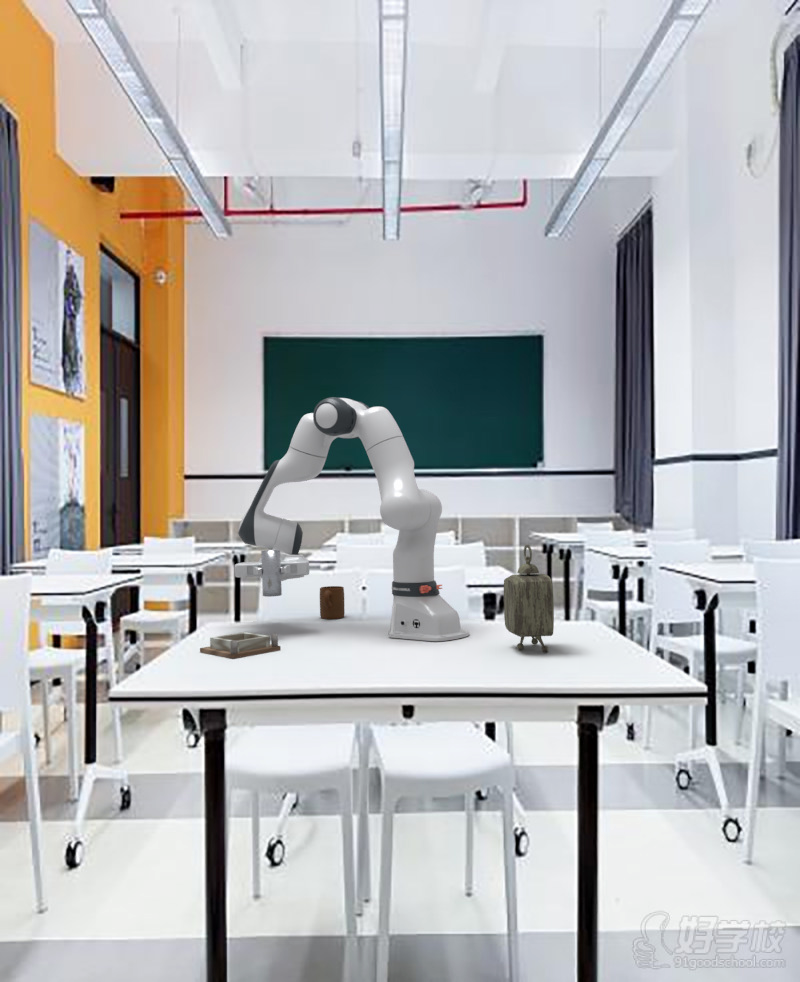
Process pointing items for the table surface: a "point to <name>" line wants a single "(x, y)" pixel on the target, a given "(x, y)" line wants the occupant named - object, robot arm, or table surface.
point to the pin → (271, 573)
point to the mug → (332, 602)
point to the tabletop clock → (529, 603)
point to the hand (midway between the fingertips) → (271, 571)
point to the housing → (241, 645)
